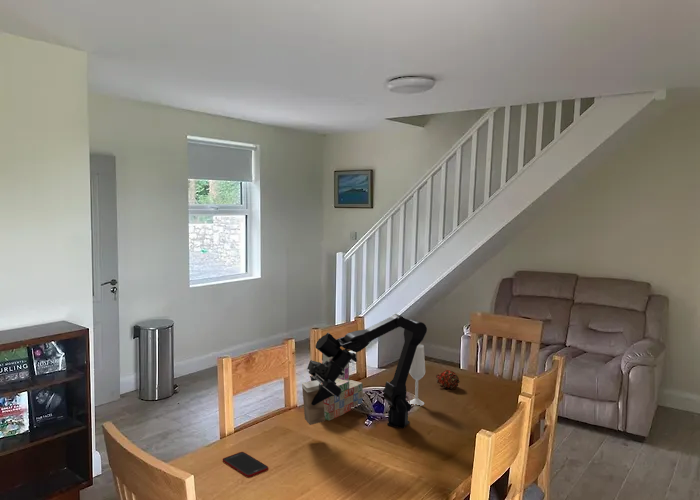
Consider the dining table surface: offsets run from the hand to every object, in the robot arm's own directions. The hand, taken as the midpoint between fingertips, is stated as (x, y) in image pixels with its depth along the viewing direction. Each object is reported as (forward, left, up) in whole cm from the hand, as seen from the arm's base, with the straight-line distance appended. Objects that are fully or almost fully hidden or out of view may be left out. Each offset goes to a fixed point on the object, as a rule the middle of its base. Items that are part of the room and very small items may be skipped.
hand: (309, 401), depth 183 cm
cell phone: (+7, +26, -13) cm, 30 cm away
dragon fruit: (-25, -77, -13) cm, 82 cm away
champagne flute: (-20, -51, -13) cm, 56 cm away
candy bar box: (+16, -47, -13) cm, 51 cm away
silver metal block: (-1, -2, -7) cm, 7 cm away
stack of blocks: (+3, -28, -13) cm, 31 cm away
